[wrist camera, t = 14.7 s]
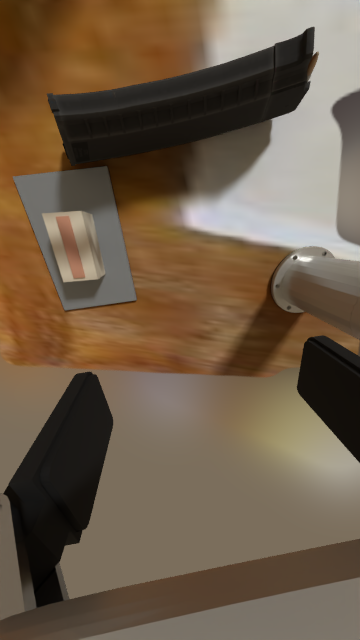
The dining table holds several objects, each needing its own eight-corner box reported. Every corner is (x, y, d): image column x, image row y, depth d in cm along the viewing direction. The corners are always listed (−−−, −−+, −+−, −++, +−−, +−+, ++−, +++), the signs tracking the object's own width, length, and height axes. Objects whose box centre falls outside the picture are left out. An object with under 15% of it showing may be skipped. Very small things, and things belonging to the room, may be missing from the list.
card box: (105, 273, 33) (97, 279, 29) (75, 276, 33) (62, 282, 28) (92, 214, 29) (80, 210, 25) (58, 216, 29) (40, 213, 25)
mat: (107, 167, 28) (106, 166, 27) (136, 299, 36) (136, 300, 35) (15, 178, 27) (12, 176, 27) (66, 309, 35) (64, 310, 35)
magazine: (15, 147, 19) (386, -21, 12) (-4, 103, 18) (400, -121, 10) (105, 179, 34) (293, 116, 26) (98, 156, 33) (294, 83, 25)
